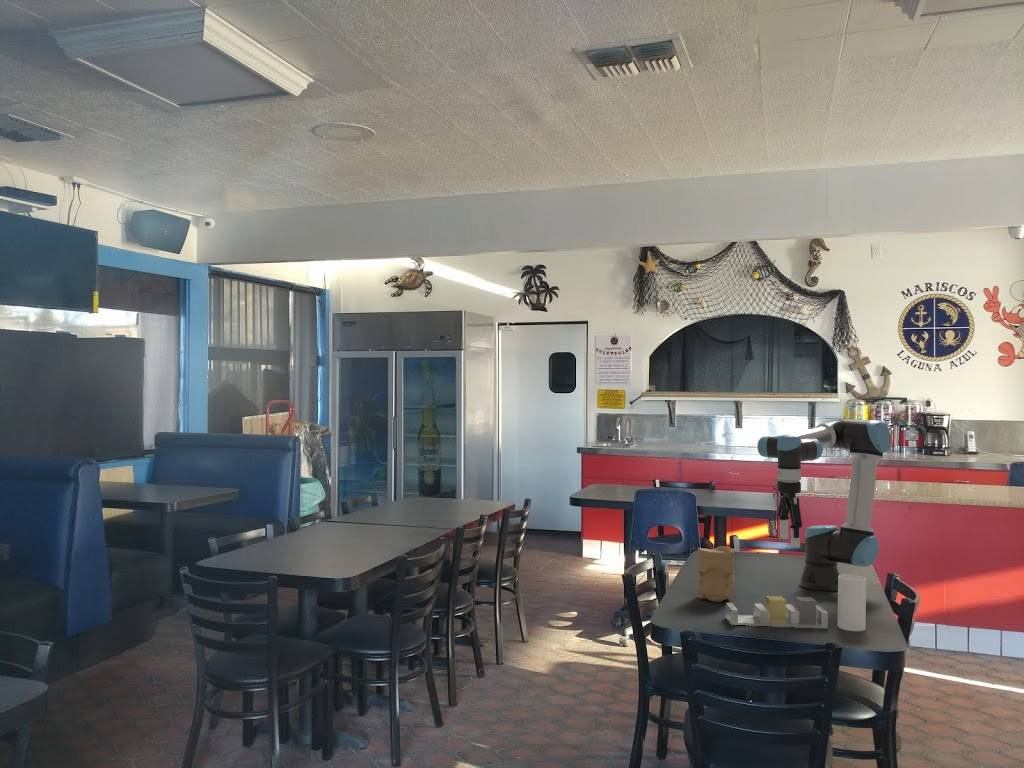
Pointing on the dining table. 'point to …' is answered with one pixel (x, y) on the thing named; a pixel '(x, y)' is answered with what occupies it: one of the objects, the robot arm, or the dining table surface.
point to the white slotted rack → (800, 617)
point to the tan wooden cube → (776, 608)
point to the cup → (851, 602)
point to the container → (715, 573)
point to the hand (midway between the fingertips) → (789, 543)
